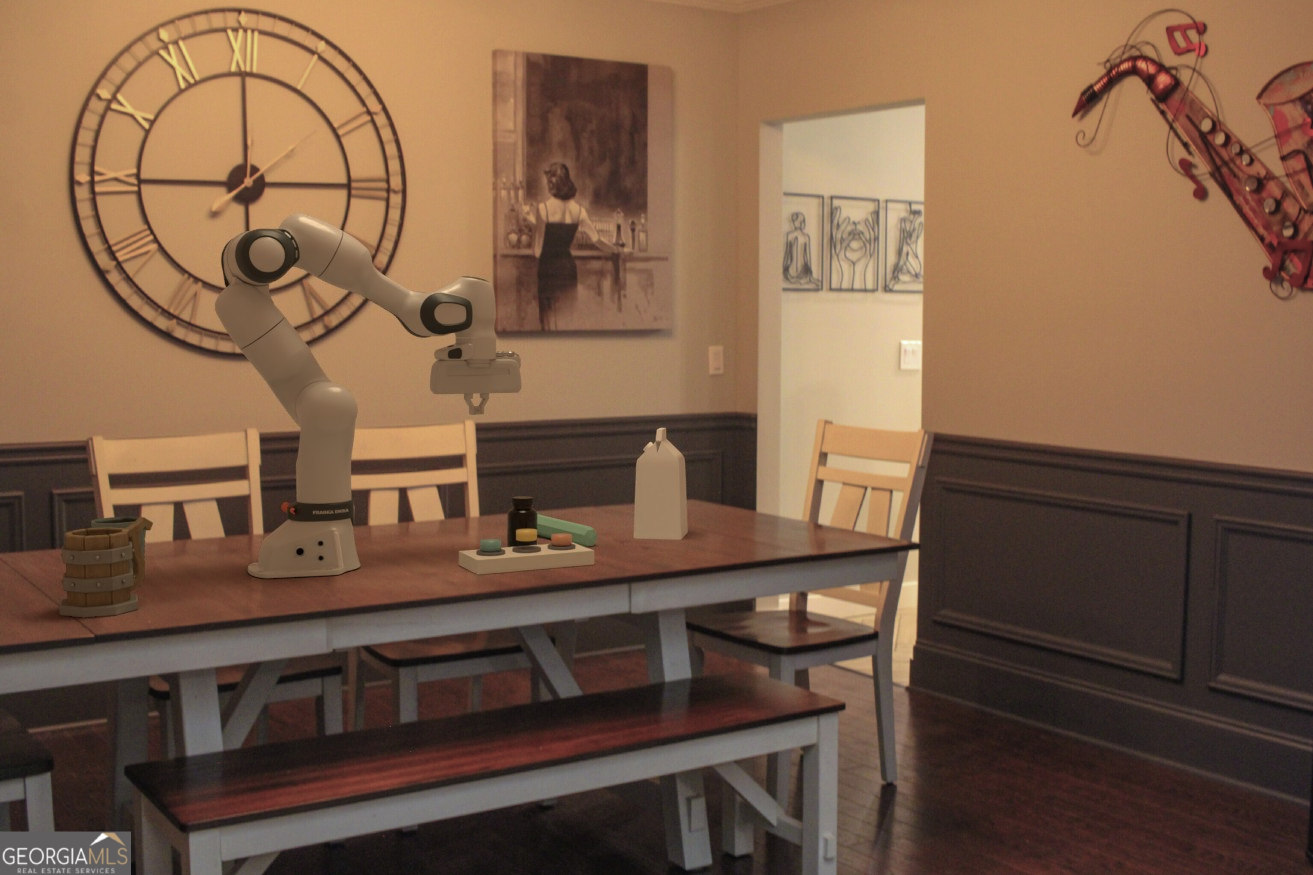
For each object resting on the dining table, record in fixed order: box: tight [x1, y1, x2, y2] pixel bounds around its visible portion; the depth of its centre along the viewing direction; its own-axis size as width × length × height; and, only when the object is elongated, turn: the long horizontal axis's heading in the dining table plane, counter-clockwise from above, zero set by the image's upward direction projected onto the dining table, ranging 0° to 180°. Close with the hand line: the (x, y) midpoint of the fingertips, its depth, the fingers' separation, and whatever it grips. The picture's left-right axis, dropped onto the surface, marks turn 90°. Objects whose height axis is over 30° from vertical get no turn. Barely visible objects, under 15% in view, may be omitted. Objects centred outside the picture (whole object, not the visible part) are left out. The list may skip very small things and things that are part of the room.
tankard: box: [59, 516, 154, 619], centre depth 229 cm, size 20×13×15 cm, turn 158°
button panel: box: [458, 542, 595, 576], centre depth 271 cm, size 26×12×4 cm, turn 117°
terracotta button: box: [550, 533, 572, 546], centre depth 274 cm, size 4×4×2 cm
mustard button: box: [516, 529, 538, 541], centre depth 271 cm, size 4×4×2 cm
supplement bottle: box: [506, 495, 538, 547], centre depth 289 cm, size 7×7×12 cm
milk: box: [633, 427, 689, 541], centre depth 310 cm, size 12×12×26 cm
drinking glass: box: [90, 516, 147, 569], centre depth 254 cm, size 10×10×12 cm
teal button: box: [479, 538, 502, 552], centre depth 267 cm, size 4×4×2 cm
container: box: [536, 511, 598, 548], centre depth 304 cm, size 6×6×25 cm
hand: (476, 414), depth 281 cm, fingers closed
